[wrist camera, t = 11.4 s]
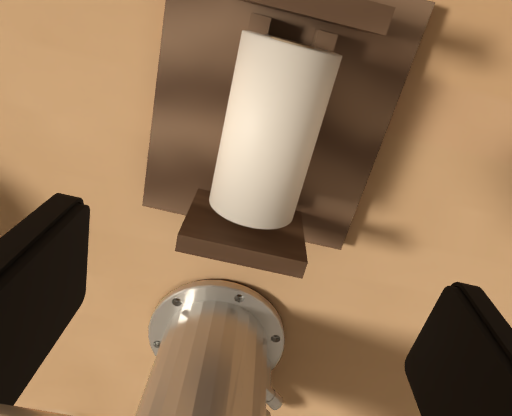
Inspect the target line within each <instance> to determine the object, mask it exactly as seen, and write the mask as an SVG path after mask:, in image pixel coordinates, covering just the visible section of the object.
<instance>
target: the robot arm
mask: <svg viewBox="0 0 512 416" xmlns="http://www.w3.org/2000/svg"><path fill="white" fill-rule="evenodd" d="M89 219H90V208H89V206H88V205H84V203H83V200H82V198H79V197H74V196H70V195H65V194H61V193H56V194H55V195H53V196H52V197H51V198H50V199H48V200H47V201H46V202H45V203H43V204H42V205H41V206H40V207H38V208H37V209H36V210H35V211H33V212H32V213H31V214H30V215H28V216H27V217H26V218H25V219H23V220H22V221H21V222H20V223H19V224H17V225H16V226H15V227H14V228H12V229H11V230H10V231H9V232H7V233H6V234H5V235H4V236H2V237H1V238H0V416H71V415H65V414H59V413H53V412H47V411H41V410H35V409H29V408H23V407H17V406H13V405H14V404H15V402H16V401H17V399H18V398H19V396H20V395H21V393H22V392H23V390H24V389H25V388H26V386H27V385H28V383H29V382H30V380H31V379H32V377H33V376H34V374H35V373H36V371H37V370H38V368H39V367H40V365H41V364H42V362H43V361H44V359H45V358H46V356H47V355H48V353H49V352H50V350H51V349H52V347H53V346H54V344H55V343H56V341H57V340H58V339H59V337H60V336H61V334H62V333H63V331H64V330H65V328H66V327H67V325H68V324H69V322H70V321H71V319H72V318H73V316H74V315H75V313H76V312H77V310H78V309H79V307H80V306H81V304H82V302H83V300H84V297H85V292H86V276H87V257H88V238H89ZM148 337H149V342H150V346H151V348H152V350H153V352H154V354H155V356H156V358H155V361H154V363H153V366H152V369H151V372H150V375H149V378H148V381H147V383H146V386H145V389H144V392H143V395H142V398H141V401H140V403H139V406H138V409H137V412H136V415H135V416H271V415H270V412H269V411H268V410H267V409H266V403H267V404H268V405H269V406H270V407H271V408H272V409H273V410H277V409H279V408H280V407H281V405H282V403H283V399H282V397H281V396H280V395H279V394H278V393H277V392H276V391H275V390H274V389H272V388H271V371H272V370H273V369H274V368H275V366H276V365H277V363H278V362H279V360H280V358H281V356H282V353H283V350H284V328H283V324H282V321H281V318H280V316H279V314H278V313H277V311H276V309H275V308H274V307H273V306H272V305H271V303H270V302H269V301H268V300H267V299H265V298H264V297H263V296H262V295H260V294H259V293H257V292H256V291H254V290H252V289H250V288H248V287H246V286H243V285H240V284H237V283H234V282H229V281H223V280H201V281H194V282H191V283H188V284H184V285H181V286H180V287H178V288H176V289H174V290H172V291H170V292H169V293H168V294H167V295H166V296H165V297H163V298H162V299H161V301H160V302H159V303H158V305H157V306H156V308H155V310H154V312H153V315H152V317H151V320H150V324H149V330H148ZM405 372H406V375H407V378H408V381H409V383H410V386H411V389H412V392H413V394H414V397H415V400H416V402H417V405H418V408H419V411H420V413H421V416H512V328H511V327H510V325H509V324H508V323H507V321H506V320H505V319H504V317H503V316H502V315H501V313H500V312H499V311H498V310H497V308H496V307H495V306H494V304H493V303H492V302H491V300H490V299H489V298H488V296H487V295H486V294H485V292H484V291H483V290H482V289H481V288H480V287H478V286H473V285H469V284H464V283H460V282H455V283H453V284H452V285H451V286H447V287H445V288H444V290H443V291H442V293H441V295H440V297H439V299H438V301H437V302H436V304H435V306H434V308H433V310H432V312H431V313H430V315H429V317H428V319H427V321H426V323H425V324H424V326H423V328H422V330H421V332H420V334H419V335H418V337H417V339H416V341H415V343H414V345H413V346H412V348H411V350H410V352H409V354H408V356H407V358H406V360H405Z"/></svg>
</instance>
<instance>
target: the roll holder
mask: <svg viewBox="0 0 512 416" xmlns="http://www.w3.org/2000/svg"><path fill="white" fill-rule="evenodd" d="M434 5H435V2H431V1H427V0H166V3H165V11H164V20H163V29H162V38H161V47H160V55H159V64H158V73H157V82H156V90H155V99H154V108H153V117H152V126H151V134H150V143H149V152H148V161H147V170H146V178H145V187H144V196H143V205H142V206H146V207H150V208H155V209H159V210H164V211H168V212H173V213H177V214H182V215H186V217H185V219H184V222H183V224H182V226H181V228H180V231H179V233H178V236H177V242H176V248H175V251H177V252H182V253H186V254H191V255H196V256H200V257H205V258H210V259H214V260H219V261H223V262H228V263H233V264H237V265H242V266H247V267H251V268H256V269H260V270H265V271H270V272H274V273H279V274H283V275H288V276H293V277H297V278H303V275H304V272H305V269H306V266H307V263H308V261H307V254H306V246H305V242H308V243H312V244H317V245H321V246H326V247H330V248H335V249H339V250H341V248H342V245H343V243H344V240H345V238H346V235H347V232H348V230H349V227H350V225H351V222H352V219H353V217H354V214H355V211H356V209H357V206H358V204H359V201H360V198H361V196H362V193H363V191H364V188H365V185H366V183H367V180H368V177H369V175H370V172H371V170H372V167H373V164H374V162H375V159H376V157H377V154H378V151H379V149H380V146H381V143H382V141H383V138H384V136H385V133H386V130H387V128H388V125H389V123H390V120H391V117H392V115H393V112H394V109H395V107H396V104H397V102H398V99H399V96H400V94H401V91H402V88H403V86H404V83H405V81H406V78H407V75H408V73H409V70H410V68H411V65H412V62H413V60H414V57H415V54H416V52H417V49H418V47H419V44H420V41H421V39H422V36H423V34H424V31H425V28H426V26H427V23H428V20H429V18H430V15H431V13H432V10H433V7H434ZM242 30H245V31H252V32H257V33H262V34H267V35H271V36H275V37H279V38H284V39H288V40H292V41H296V42H299V43H303V44H307V45H311V46H314V47H318V48H321V49H324V50H328V51H331V52H334V53H337V54H339V55H342V59H341V62H340V66H339V69H338V72H337V76H336V79H335V82H334V85H333V89H332V92H331V95H330V98H329V102H328V105H327V108H326V111H325V115H324V118H323V121H322V125H321V128H320V131H319V134H318V138H317V141H316V144H315V147H314V151H313V154H312V157H311V160H310V164H309V167H308V170H307V174H306V177H305V180H304V183H303V187H302V190H301V193H300V196H299V200H298V203H297V206H296V209H295V213H294V216H293V219H292V221H291V223H290V224H289V225H287V226H285V227H282V228H278V229H256V228H250V227H246V226H243V225H239V224H237V223H234V222H232V221H229V220H227V219H225V218H224V217H222V216H221V215H219V214H218V213H217V212H215V210H214V209H213V208H212V207H211V205H210V203H209V197H210V192H211V187H212V182H213V177H214V172H215V167H216V161H217V156H218V151H219V146H220V141H221V136H222V131H223V126H224V121H225V115H226V110H227V105H228V100H229V95H230V90H231V85H232V80H233V74H234V69H235V64H236V59H237V54H238V49H239V44H240V39H241V34H242Z"/></svg>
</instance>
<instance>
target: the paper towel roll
mask: <svg viewBox="0 0 512 416" xmlns="http://www.w3.org/2000/svg"><path fill="white" fill-rule="evenodd" d="M341 59H342V55H339V54H337V53H334V52H331V51H328V50H324V49H321V48H318V47H314V46H311V45H307V44H303V43H299V42H296V41H292V40H288V39H284V38H279V37H275V36H271V35H267V34H262V33H257V32H252V31H245V30H242V34H241V39H240V44H239V49H238V54H237V59H236V64H235V69H234V74H233V80H232V85H231V90H230V95H229V100H228V105H227V110H226V115H225V121H224V126H223V131H222V136H221V141H220V146H219V151H218V156H217V161H216V167H215V172H214V177H213V182H212V187H211V192H210V197H209V203H210V205H211V207H212V208H213V209H214V210H215V212H217V213H218V214H219V215H221V216H222V217H224V218H225V219H227V220H229V221H232V222H234V223H237V224H239V225H243V226H246V227H250V228H256V229H278V228H282V227H285V226H287V225H289V224H290V223H291V221H292V219H293V216H294V213H295V209H296V206H297V203H298V200H299V196H300V193H301V190H302V187H303V183H304V180H305V177H306V174H307V170H308V167H309V164H310V160H311V157H312V154H313V151H314V147H315V144H316V141H317V138H318V134H319V131H320V128H321V125H322V121H323V118H324V115H325V111H326V108H327V105H328V102H329V98H330V95H331V92H332V89H333V85H334V82H335V79H336V76H337V72H338V69H339V66H340V62H341Z"/></svg>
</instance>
